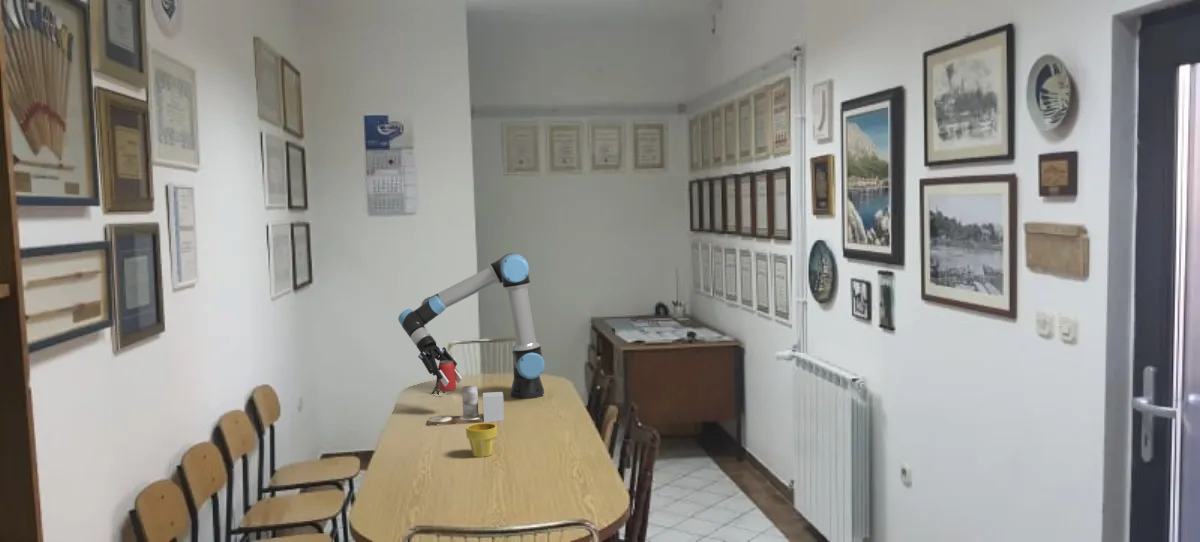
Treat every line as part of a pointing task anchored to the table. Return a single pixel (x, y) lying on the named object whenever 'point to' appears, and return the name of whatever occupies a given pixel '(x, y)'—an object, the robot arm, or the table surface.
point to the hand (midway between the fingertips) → (453, 382)
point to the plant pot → (482, 438)
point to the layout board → (468, 409)
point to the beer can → (447, 375)
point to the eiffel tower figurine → (437, 387)
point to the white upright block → (493, 406)
